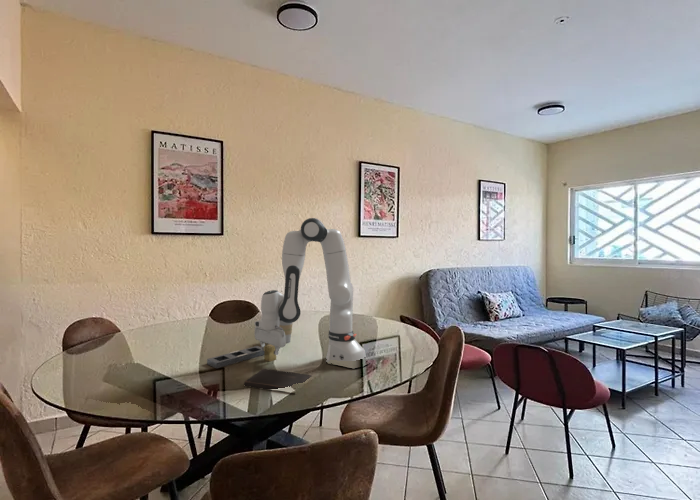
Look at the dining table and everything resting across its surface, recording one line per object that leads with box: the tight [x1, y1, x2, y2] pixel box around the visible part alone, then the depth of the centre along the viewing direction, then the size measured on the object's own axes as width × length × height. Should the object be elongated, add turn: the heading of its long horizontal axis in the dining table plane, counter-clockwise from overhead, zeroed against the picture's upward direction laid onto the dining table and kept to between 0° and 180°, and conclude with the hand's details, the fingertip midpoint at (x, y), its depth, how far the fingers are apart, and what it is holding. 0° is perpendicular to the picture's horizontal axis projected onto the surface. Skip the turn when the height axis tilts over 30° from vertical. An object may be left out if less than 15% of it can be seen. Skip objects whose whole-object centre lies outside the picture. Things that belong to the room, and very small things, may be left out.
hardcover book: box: [243, 368, 313, 390], centre depth 167 cm, size 16×23×2 cm
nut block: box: [263, 344, 277, 363], centre depth 194 cm, size 4×4×7 cm
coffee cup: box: [279, 319, 293, 344], centre depth 224 cm, size 9×9×15 cm
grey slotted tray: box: [206, 345, 264, 369], centre depth 195 cm, size 8×28×3 cm, turn 139°
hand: (269, 352), depth 194 cm, fingers open, 8 cm apart
